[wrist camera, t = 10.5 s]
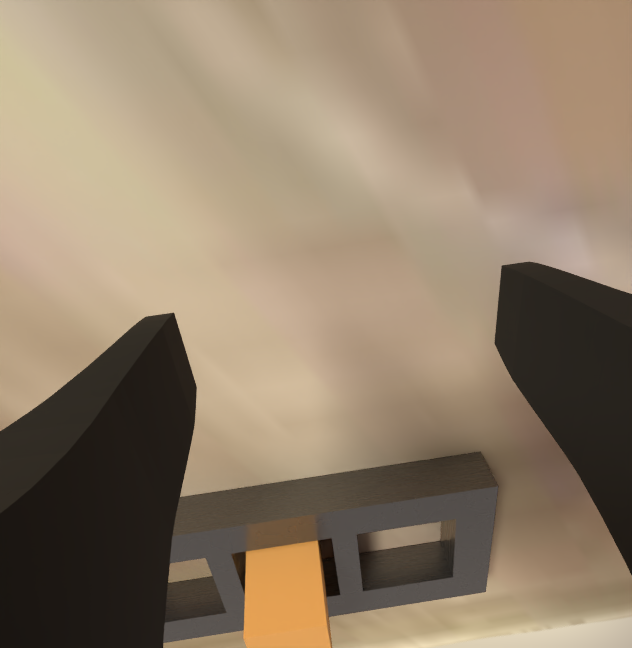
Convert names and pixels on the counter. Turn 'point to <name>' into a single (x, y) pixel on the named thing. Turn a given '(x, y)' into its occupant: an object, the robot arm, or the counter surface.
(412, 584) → the gray board with holes
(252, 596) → the square block
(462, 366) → the counter surface
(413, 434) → the counter surface
